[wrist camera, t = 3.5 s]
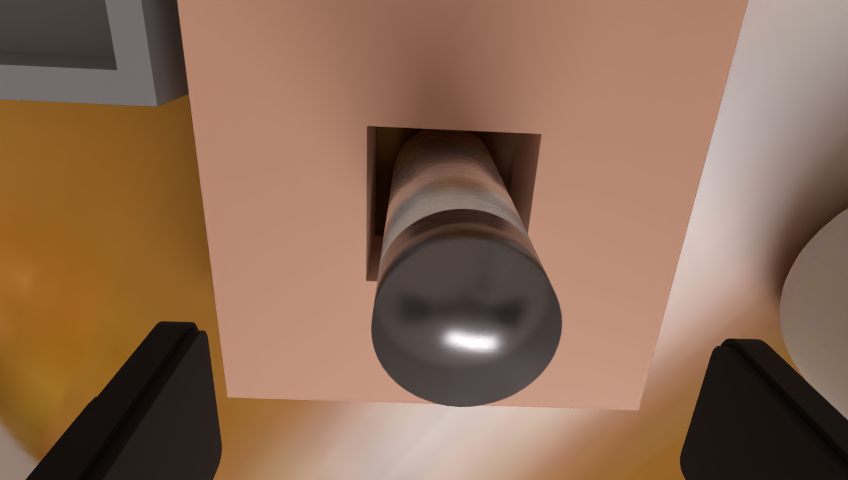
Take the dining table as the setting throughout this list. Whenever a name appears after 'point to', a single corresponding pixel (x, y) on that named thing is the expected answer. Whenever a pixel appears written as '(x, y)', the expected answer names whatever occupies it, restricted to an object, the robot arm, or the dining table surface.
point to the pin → (459, 279)
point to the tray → (92, 51)
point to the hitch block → (450, 110)
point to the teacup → (820, 312)
